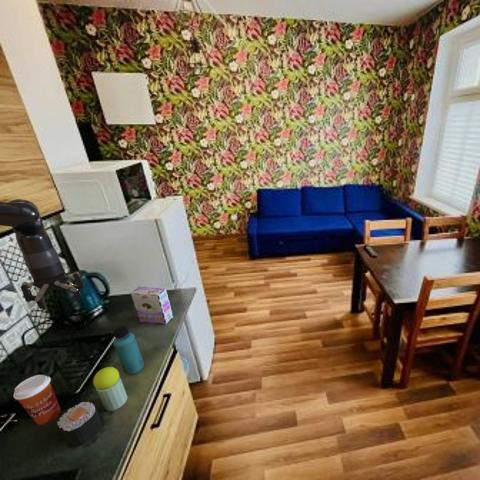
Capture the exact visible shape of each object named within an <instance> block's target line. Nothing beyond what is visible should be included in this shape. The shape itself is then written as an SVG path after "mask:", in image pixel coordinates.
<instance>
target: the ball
mask: <svg viewBox="0 0 480 480" xmlns="http://www.w3.org/2000/svg"><path fill="white" fill-rule="evenodd" d="M119 376H120V371H119V370H118V369H117V368H115V367H113V366H106V367H103V368H101V369H100V370H98V371H97V372H96V374H95V375H94V376H93V379H92V384H93V386H94V387H95V389H96V388H97V389H100V390H105V389H108V388H110V387H112V386H113V385H115V383H116V382H117V381H118V378H119Z"/></svg>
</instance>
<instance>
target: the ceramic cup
mask: <svg viewBox="0 0 480 480" xmlns="http://www.w3.org/2000/svg"><path fill="white" fill-rule="evenodd" d="M95 390H96V392H97V395H98V397H99V399H100V401H101V404H102V406H103V408H104V410H106V411H107V412H112V411H116V410H118V409H120V408H121V407H122V406H124V405H125V403H126V402H127V400H128V393H127V390H126V388H125V386H124V384H123V380H122V378H121V375H119V378H118V381H117V382H116V383H115V385H113V386H112V387H110V388H108V389H105V390H100V389H97V388H96V387H95Z"/></svg>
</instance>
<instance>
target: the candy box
mask: <svg viewBox="0 0 480 480" xmlns="http://www.w3.org/2000/svg"><path fill="white" fill-rule="evenodd" d="M129 294H130V297H131V301H132V304H133V307H134V310H135V313H136V315H137V316H136V317H137V319H138V321H139V323H145V324H154V325H155V324H156V325H164V326H165V325H167V324H169V322H170V321H171V320H173V319H174V314H173V310H172V307H171V303H170V298H169V295H168V290H167V288H163V287H162V288H161V287H148V286H138V287H137V288H135V289H134V290H133V291H131V292H130V293H129Z"/></svg>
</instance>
